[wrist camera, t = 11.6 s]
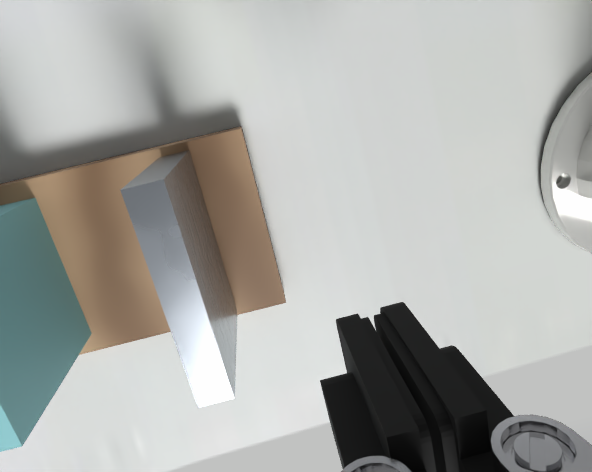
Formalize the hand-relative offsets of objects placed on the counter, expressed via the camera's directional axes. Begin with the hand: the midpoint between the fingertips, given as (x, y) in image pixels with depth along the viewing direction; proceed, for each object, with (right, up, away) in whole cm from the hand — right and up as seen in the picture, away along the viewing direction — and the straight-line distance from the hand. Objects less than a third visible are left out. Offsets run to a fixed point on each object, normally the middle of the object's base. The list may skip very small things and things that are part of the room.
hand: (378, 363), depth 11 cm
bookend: (-7, +3, +13) cm, 15 cm away
